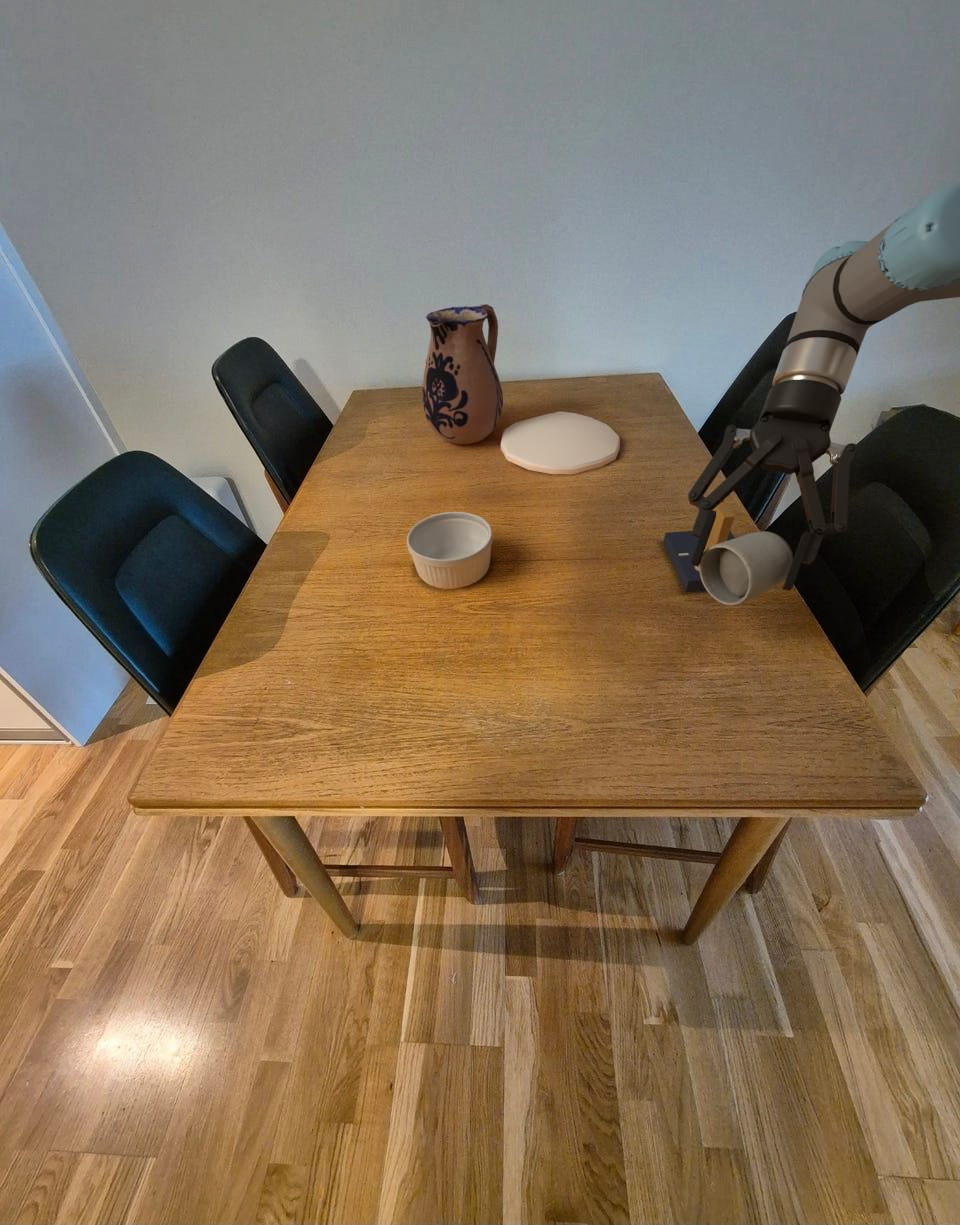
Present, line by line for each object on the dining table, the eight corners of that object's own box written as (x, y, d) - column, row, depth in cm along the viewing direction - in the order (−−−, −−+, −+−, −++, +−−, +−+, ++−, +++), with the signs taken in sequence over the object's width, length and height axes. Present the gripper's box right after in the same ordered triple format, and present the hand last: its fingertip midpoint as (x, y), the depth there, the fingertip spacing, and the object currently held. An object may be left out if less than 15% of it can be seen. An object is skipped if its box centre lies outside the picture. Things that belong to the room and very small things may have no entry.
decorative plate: (481, 422, 116) (578, 397, 123) (482, 440, 119) (577, 414, 126) (535, 470, 99) (646, 438, 106) (535, 490, 102) (643, 457, 109)
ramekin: (456, 536, 93) (452, 501, 88) (511, 566, 86) (510, 531, 81) (397, 572, 87) (389, 537, 82) (451, 608, 79) (446, 572, 75)
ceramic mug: (787, 593, 66) (809, 542, 60) (739, 618, 63) (757, 567, 58) (721, 551, 73) (735, 502, 68) (675, 571, 70) (686, 522, 65)
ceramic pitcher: (413, 446, 120) (392, 324, 102) (461, 409, 132) (450, 295, 115) (480, 460, 113) (471, 331, 95) (524, 420, 125) (522, 300, 108)
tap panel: (753, 592, 78) (759, 575, 75) (684, 596, 78) (688, 580, 76) (724, 543, 86) (729, 527, 84) (662, 547, 87) (665, 531, 84)
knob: (720, 562, 78) (734, 515, 72) (710, 563, 78) (724, 515, 73) (708, 542, 82) (721, 495, 76) (699, 543, 82) (712, 496, 76)
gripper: (909, 420, 60) (839, 607, 62) (706, 393, 69) (650, 556, 71) (933, 390, 53) (855, 601, 55) (705, 364, 63) (642, 545, 64)
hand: (739, 576), depth 63 cm, fingers closed on ceramic mug, 10 cm apart
